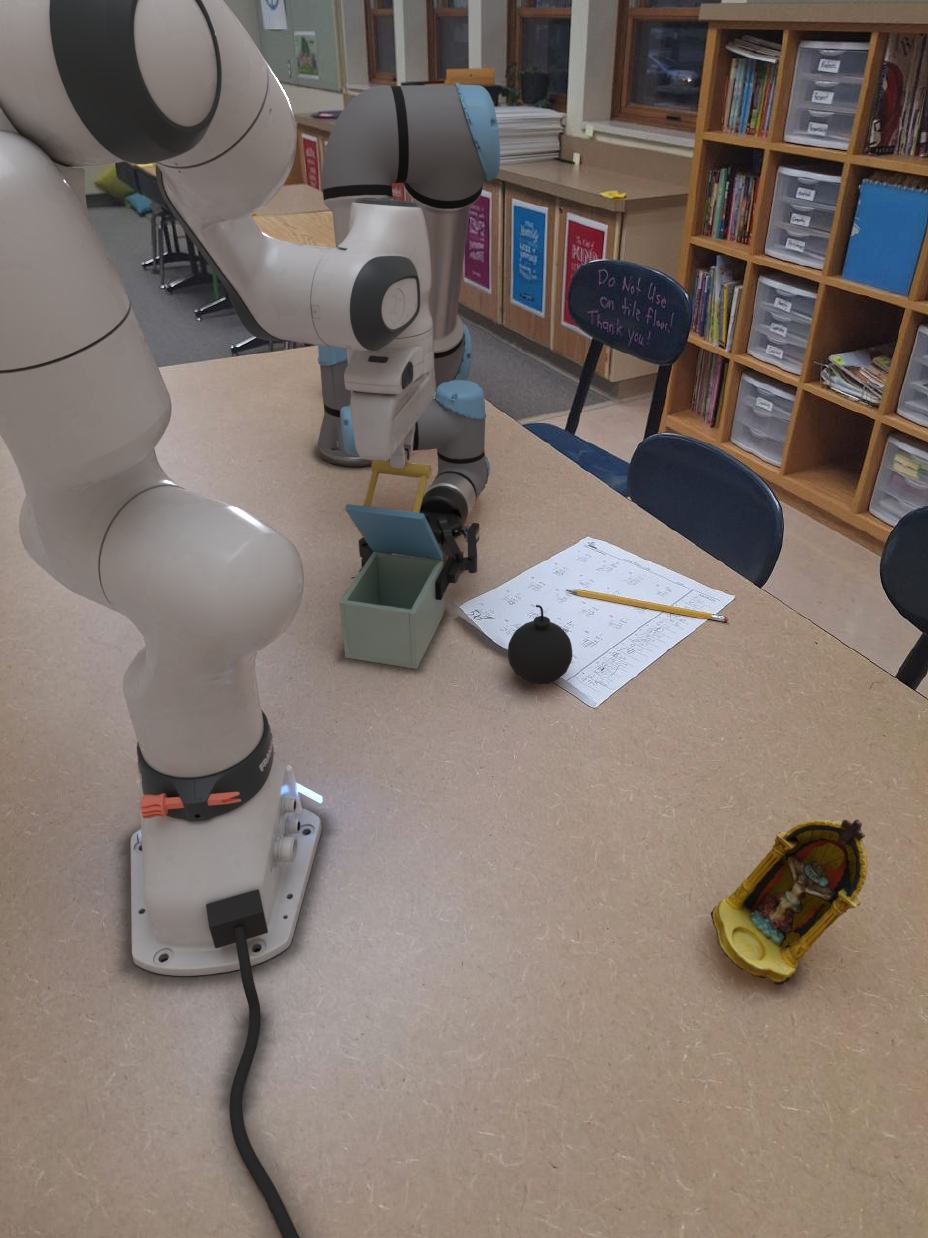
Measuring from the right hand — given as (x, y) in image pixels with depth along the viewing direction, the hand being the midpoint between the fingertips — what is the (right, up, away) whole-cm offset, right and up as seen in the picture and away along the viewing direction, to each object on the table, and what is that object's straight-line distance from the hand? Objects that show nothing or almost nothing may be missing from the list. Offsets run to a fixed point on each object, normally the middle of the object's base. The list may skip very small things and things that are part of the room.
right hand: (399, 585), depth 114 cm
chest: (-1, -7, +2) cm, 7 cm away
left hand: (+1, +15, -7) cm, 17 cm away
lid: (0, +6, -5) cm, 8 cm away
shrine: (+35, -34, -37) cm, 61 cm away
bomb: (+18, -12, -6) cm, 22 cm away
